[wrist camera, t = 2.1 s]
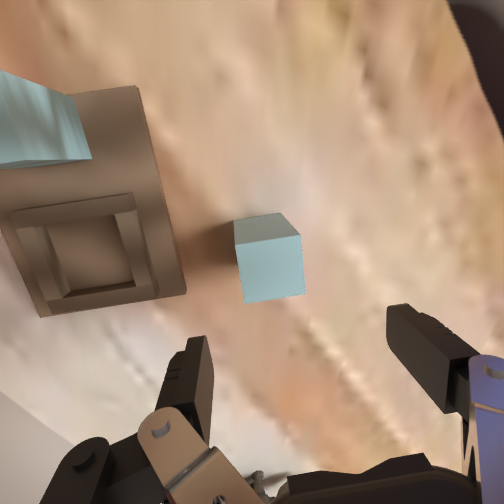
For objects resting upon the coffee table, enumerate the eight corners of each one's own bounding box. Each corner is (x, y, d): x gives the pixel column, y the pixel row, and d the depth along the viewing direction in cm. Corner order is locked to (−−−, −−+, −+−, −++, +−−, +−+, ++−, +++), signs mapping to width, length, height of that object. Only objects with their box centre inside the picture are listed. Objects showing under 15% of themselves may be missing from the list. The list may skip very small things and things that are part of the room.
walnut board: (-40, 113, 22) (-206, 86, 14) (138, 88, 23) (83, 46, 14) (46, 312, 28) (-34, 379, 20) (186, 289, 28) (168, 346, 20)
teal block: (233, 220, 27) (234, 245, 19) (280, 212, 27) (300, 234, 19) (240, 264, 28) (244, 303, 20) (285, 257, 28) (305, 293, 21)
